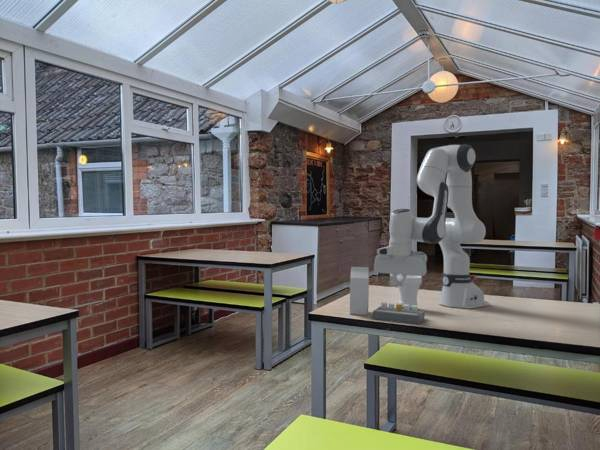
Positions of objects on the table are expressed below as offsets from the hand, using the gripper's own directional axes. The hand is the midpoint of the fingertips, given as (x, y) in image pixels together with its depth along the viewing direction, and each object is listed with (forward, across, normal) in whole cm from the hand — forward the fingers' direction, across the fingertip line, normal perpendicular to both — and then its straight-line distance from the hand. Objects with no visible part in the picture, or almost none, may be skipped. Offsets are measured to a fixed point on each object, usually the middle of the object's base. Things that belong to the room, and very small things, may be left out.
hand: (399, 285), depth 191 cm
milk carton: (+13, +17, -2) cm, 22 cm away
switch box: (+13, 0, 0) cm, 13 cm away
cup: (+13, +1, -20) cm, 24 cm away
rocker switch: (+10, 0, 0) cm, 10 cm away
